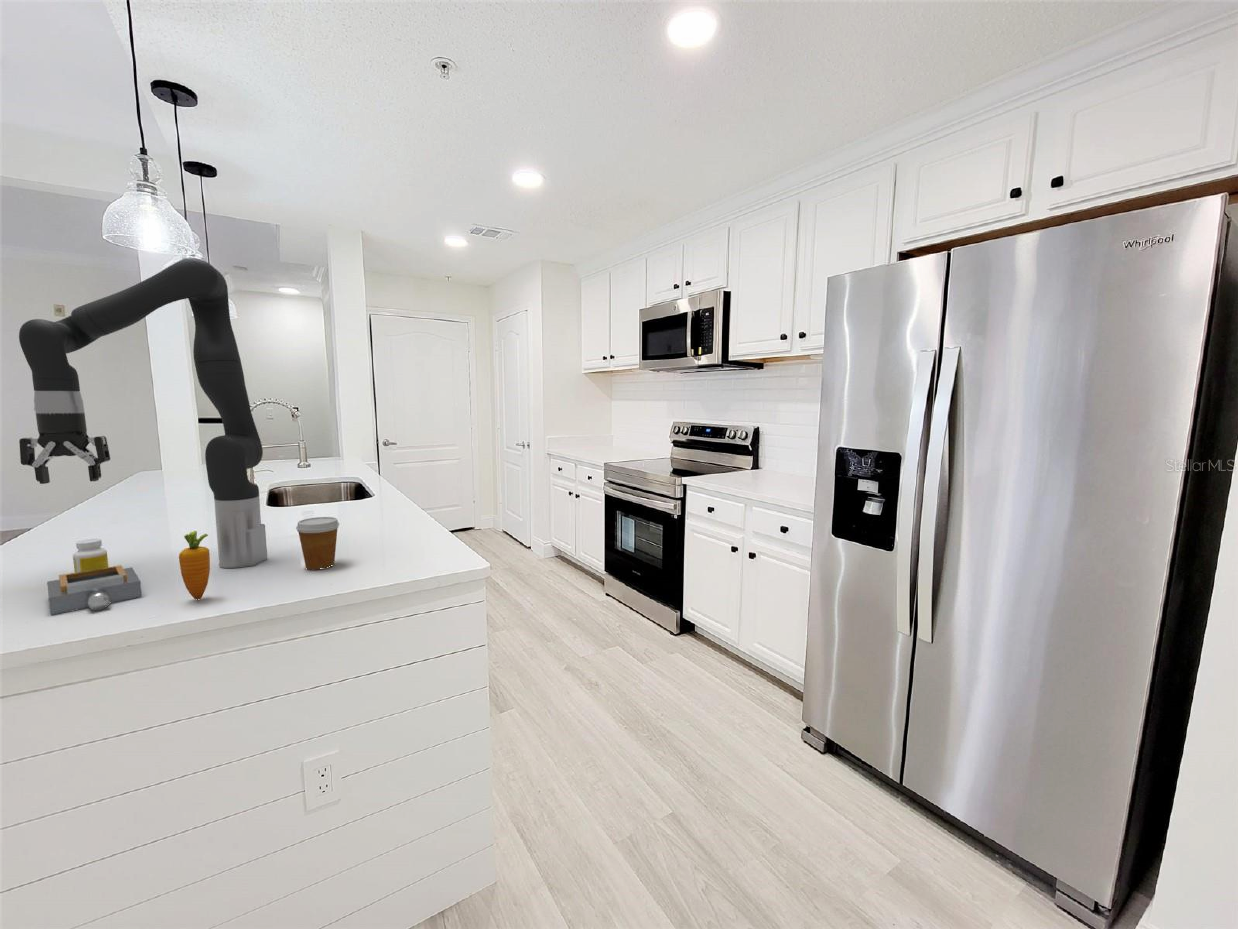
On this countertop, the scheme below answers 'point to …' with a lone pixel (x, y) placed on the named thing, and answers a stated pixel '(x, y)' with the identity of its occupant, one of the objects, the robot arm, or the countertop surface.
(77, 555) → the supplement bottle
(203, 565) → the carrot
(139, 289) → the robot arm
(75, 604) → the grey drawer
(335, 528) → the disposable coffee cup
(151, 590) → the countertop surface
